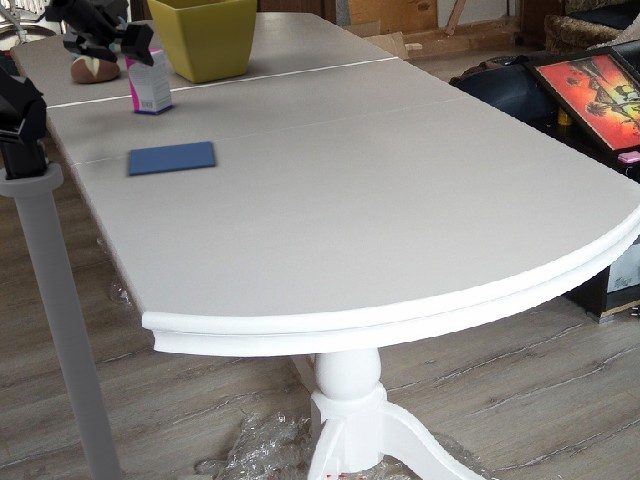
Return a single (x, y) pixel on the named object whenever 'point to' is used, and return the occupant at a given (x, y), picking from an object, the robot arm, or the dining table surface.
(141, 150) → the blue mat
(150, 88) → the supplement box
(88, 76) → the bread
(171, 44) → the flower pot
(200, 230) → the dining table surface
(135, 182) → the dining table surface
